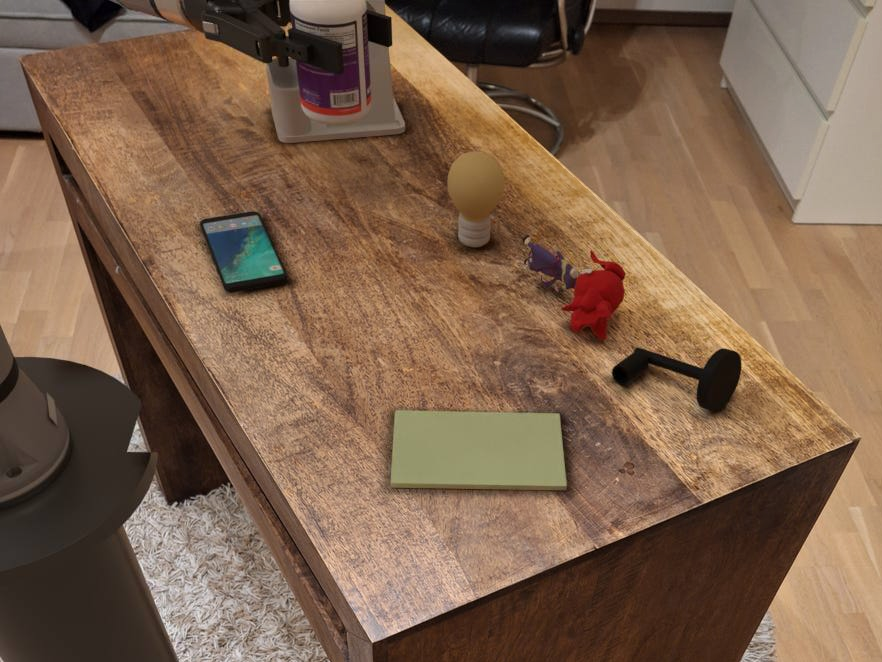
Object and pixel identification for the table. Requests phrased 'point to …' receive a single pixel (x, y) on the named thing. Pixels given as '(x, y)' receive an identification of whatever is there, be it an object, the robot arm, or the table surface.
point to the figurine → (582, 287)
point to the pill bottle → (347, 95)
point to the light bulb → (475, 194)
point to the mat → (477, 450)
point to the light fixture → (689, 374)
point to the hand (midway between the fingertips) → (365, 45)
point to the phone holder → (303, 129)
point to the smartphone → (243, 252)
